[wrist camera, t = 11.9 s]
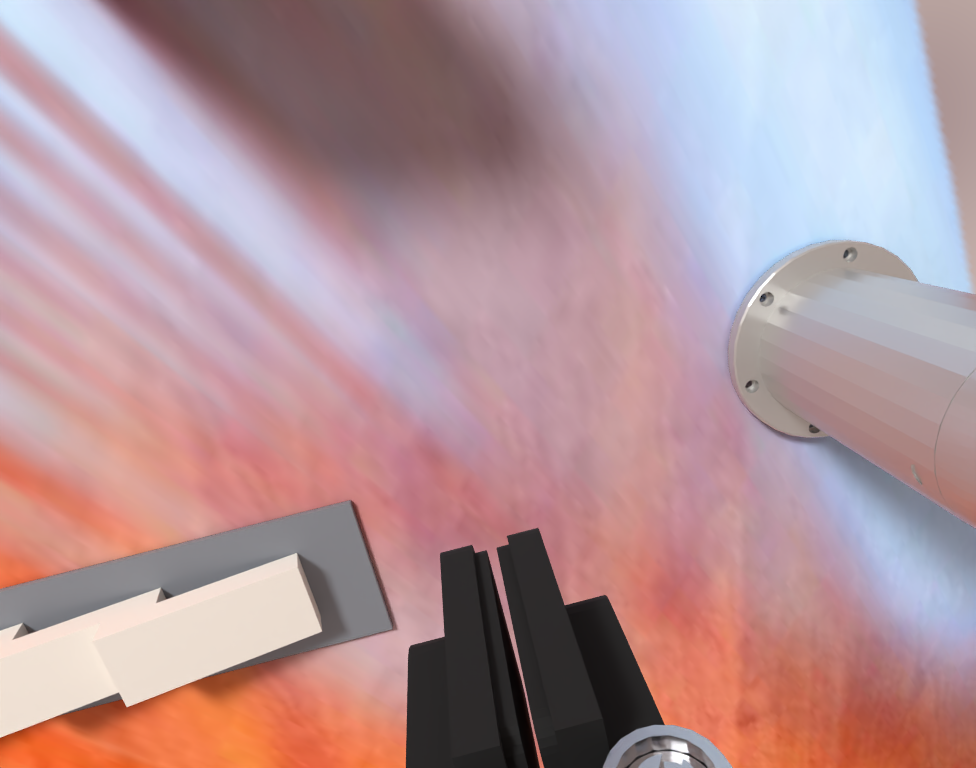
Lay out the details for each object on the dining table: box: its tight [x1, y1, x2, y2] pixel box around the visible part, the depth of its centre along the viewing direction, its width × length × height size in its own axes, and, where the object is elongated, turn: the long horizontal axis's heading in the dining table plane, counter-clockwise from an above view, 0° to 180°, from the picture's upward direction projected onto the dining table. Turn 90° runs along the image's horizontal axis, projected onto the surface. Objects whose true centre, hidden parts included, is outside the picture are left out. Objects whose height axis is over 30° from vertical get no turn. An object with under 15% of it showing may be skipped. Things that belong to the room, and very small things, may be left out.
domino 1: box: [0, 588, 166, 738], centre depth 41 cm, size 2×5×12 cm
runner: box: [0, 500, 393, 716], centre depth 43 cm, size 42×10×1 cm, turn 103°
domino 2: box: [92, 553, 322, 707], centre depth 41 cm, size 2×5×12 cm
